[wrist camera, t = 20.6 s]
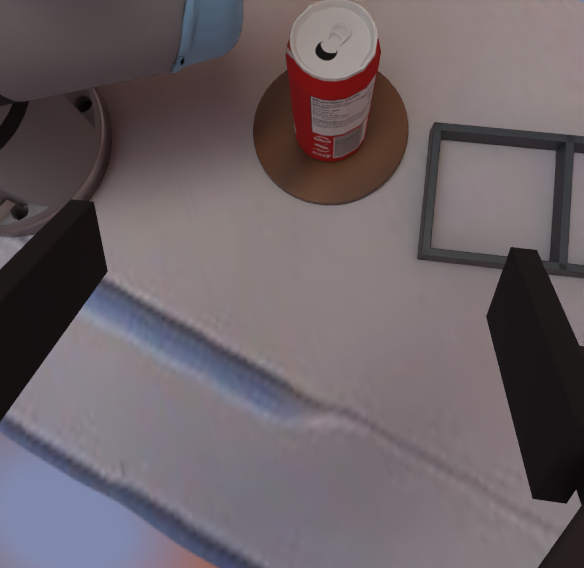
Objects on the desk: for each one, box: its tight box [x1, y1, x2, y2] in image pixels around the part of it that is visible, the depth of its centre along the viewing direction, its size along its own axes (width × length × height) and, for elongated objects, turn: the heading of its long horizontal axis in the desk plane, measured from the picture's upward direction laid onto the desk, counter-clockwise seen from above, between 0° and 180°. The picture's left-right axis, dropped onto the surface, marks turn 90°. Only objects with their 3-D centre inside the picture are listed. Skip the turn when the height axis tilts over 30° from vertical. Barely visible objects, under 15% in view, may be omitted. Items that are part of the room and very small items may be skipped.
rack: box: [418, 122, 584, 278], centre depth 39 cm, size 20×10×2 cm, turn 83°
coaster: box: [253, 70, 408, 205], centre depth 41 cm, size 12×12×1 cm
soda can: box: [286, 0, 381, 162], centre depth 35 cm, size 6×6×12 cm
